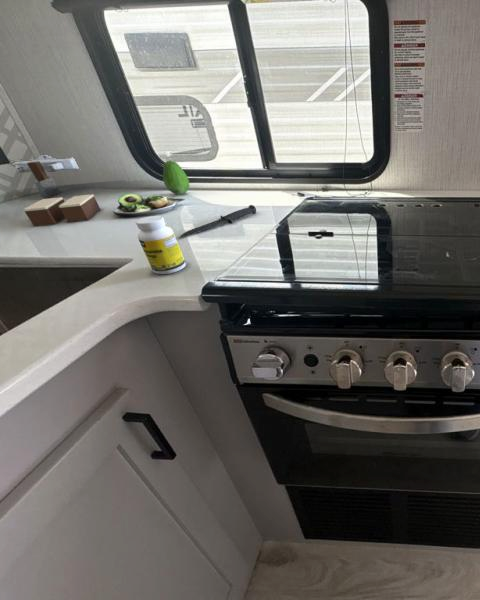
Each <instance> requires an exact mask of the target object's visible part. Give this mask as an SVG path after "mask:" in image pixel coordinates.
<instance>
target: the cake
mask: <svg viewBox="0 0 480 600" xmlns="http://www.w3.org/2000/svg"><path fill="white" fill-rule="evenodd" d="M22 209H23V208H22ZM23 211H24V213H25V215H26V216H27V218H28V219H29V221H30V223H31V224H32V226H33V227H41V226H49V225H56V224H58V223H59V222H60V221H61V220H63V219H64V218H65V220H66V221H67V223H75V222H83V221H84V222H85V221H89V220H90V219H91V218H92V217H94V216H95V215H96V214H97V213H99V212H100V211H101V207H100V205H99V203H98V200H96V197H95V195H94V194H93V193H92V194H82V195H73V196H72V197H70V198H69V199H67V200H66V201H65V200H64V198H63V196H61V197H51V198H48V199H44V198H42V199H40V200H38V201H36V202H34V203H33V204H31V205H29V206H27V207H25V208H24V209H23Z"/></svg>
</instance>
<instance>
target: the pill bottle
mask: <svg viewBox="0 0 480 600" xmlns="http://www.w3.org/2000/svg"><path fill="white" fill-rule="evenodd" d="M135 224H136V226H137V228H138V230H140V231H139V232H138V234H137V239H138V241H139V243H140V246H141V248H142V250H143V253H144V255H145V257H146V260H147V261H148V264H149V265H150V268H151V271H152V272H153V273H154V274H157V275H169V274H174V273H177V272H179V271H181V270H182V269H184V268H185V267H186V264H187V263H186V260H185V257H184V255H183V252H182V250H181V248H180V245H179V242H178V240H177V237H176V235H175V232H174V230H173V229H172V228H171V227H169V226H167V224H166V221H165V219H164V217H163V216H162V215H151V216H150V215H148V216H143V217H141V218H138V219H137V220H135Z"/></svg>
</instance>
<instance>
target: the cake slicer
mask: <svg viewBox="0 0 480 600" xmlns="http://www.w3.org/2000/svg"><path fill="white" fill-rule="evenodd" d="M27 164H28V166H29V167H30V169H31V171H32V172H31V173H32V175H33V177H34V178H35V179H36V180H35V181H34V186H36V188H37V190H38V192H39V193H40V195H41V197H42V199H49V198H53V197H54V196H56V195H57V194H59V193H61V192H60V189H59V188H58V185H57V184H56V182H55V180H54V178H53V177H52V176H48V173H46V172H45V171H44V169H43V167H42V165H41V164H40V162H39V161H35V162H29V163H27Z"/></svg>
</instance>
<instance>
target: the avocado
mask: <svg viewBox="0 0 480 600" xmlns="http://www.w3.org/2000/svg"><path fill="white" fill-rule="evenodd" d="M162 170H163V171H162V180H163V183H164V186H165V187H166V189H167V190H168V191H169V192H171V193H173V194H174V195H178V196H179V195H185V194H186V193H187V192H188V191H189V188H190V179H189V178H188V176H187V174H186V172H185V171H184V170H183V169H182V167H181V165H179V164H178V163H177V162H176V161H174V160H166V161H165V162H164V164H163V169H162Z"/></svg>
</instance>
